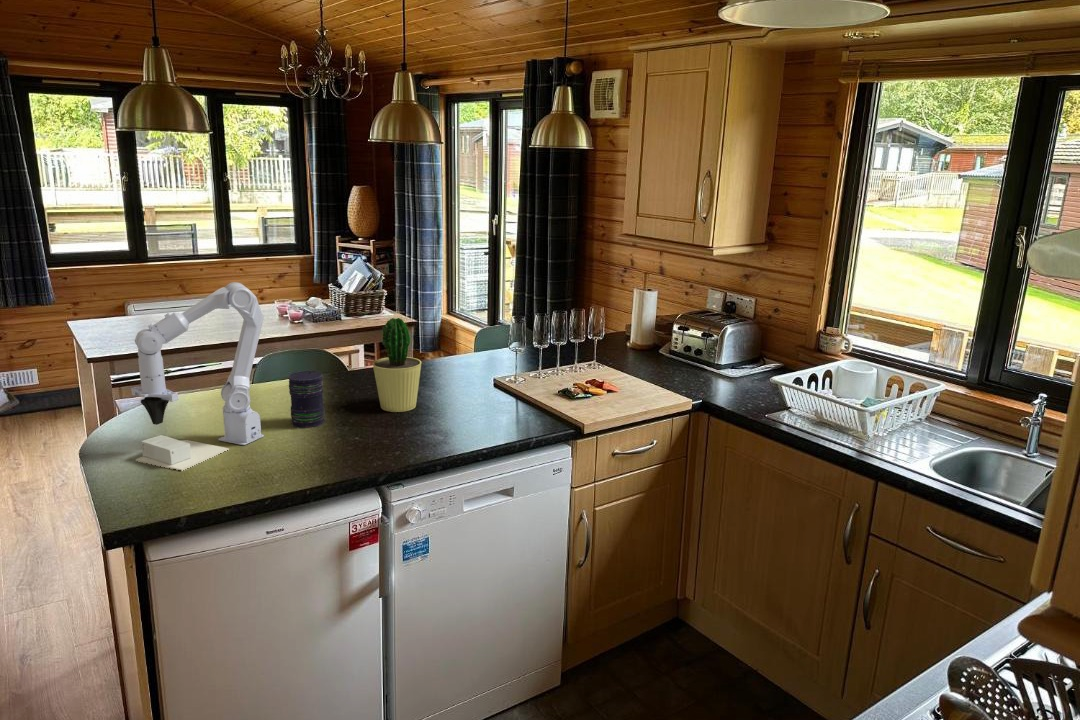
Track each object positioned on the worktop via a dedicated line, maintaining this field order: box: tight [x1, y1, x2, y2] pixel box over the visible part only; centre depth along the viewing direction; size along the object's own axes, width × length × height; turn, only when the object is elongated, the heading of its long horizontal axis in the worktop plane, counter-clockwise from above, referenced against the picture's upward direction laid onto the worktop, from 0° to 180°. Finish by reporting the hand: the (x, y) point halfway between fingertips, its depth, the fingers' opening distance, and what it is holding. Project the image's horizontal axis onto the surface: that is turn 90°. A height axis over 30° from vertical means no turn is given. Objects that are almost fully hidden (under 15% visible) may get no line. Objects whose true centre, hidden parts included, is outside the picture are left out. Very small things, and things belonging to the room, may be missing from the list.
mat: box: [135, 439, 230, 472], centre depth 200 cm, size 16×16×1 cm
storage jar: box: [288, 370, 326, 429], centre depth 225 cm, size 10×10×15 cm
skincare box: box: [140, 434, 191, 465], centre depth 197 cm, size 6×4×12 cm
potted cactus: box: [372, 317, 422, 413], centre depth 240 cm, size 15×15×30 cm
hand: (157, 423), depth 201 cm, fingers closed
